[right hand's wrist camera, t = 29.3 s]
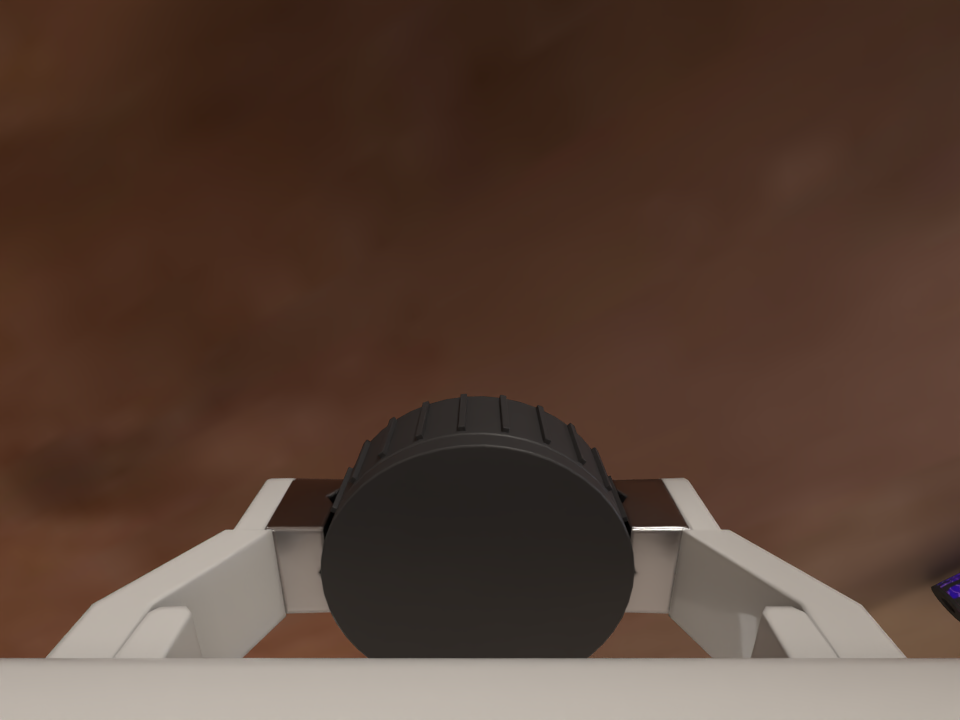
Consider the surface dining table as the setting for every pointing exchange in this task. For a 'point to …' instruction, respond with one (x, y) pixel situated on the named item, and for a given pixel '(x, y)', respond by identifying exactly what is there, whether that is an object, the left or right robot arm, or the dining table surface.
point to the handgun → (949, 594)
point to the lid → (477, 538)
